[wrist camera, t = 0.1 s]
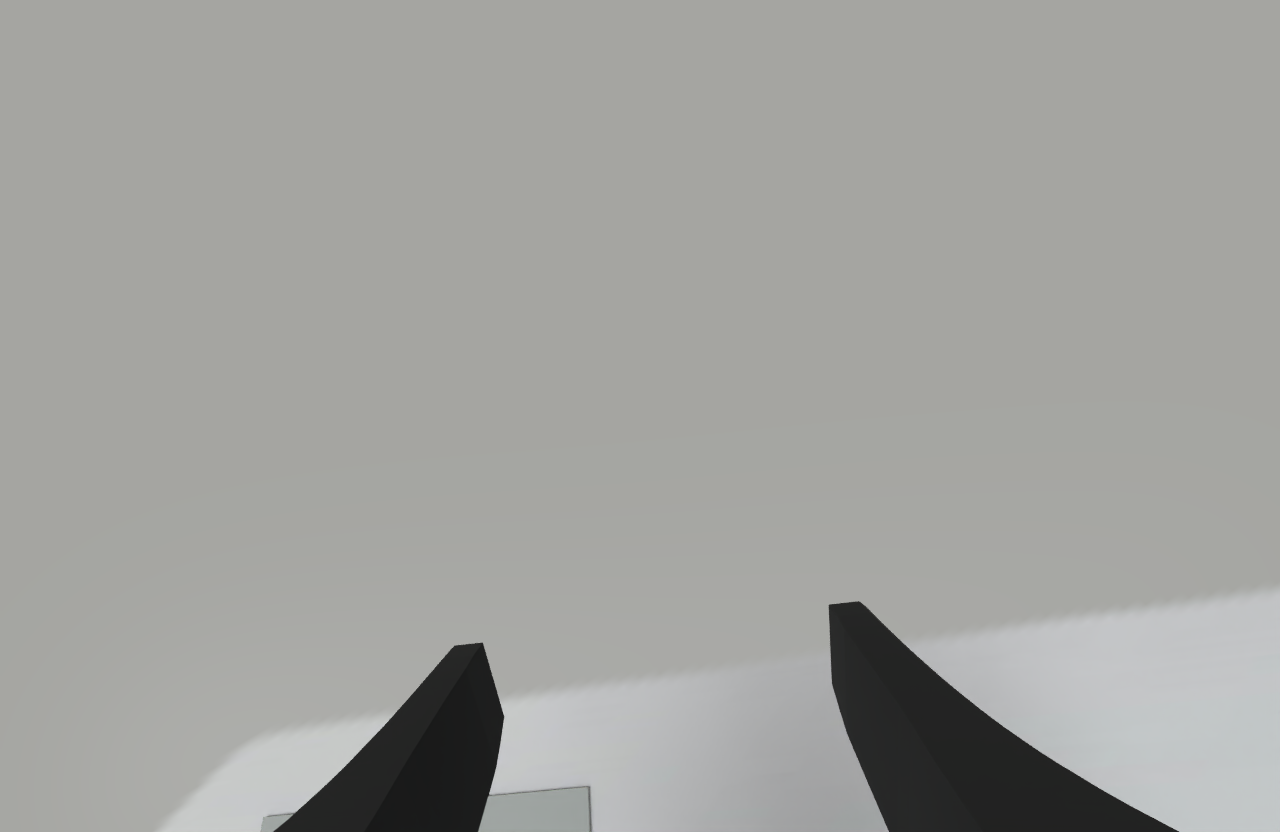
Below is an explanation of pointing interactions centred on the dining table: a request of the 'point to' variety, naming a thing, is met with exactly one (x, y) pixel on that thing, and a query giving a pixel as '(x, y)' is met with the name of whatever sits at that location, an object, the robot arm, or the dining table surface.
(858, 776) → the dining table surface
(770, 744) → the dining table surface
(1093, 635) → the dining table surface
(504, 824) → the grey mat
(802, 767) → the dining table surface
